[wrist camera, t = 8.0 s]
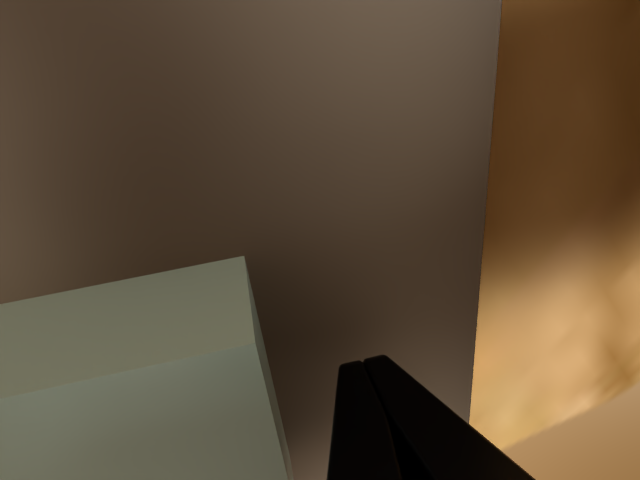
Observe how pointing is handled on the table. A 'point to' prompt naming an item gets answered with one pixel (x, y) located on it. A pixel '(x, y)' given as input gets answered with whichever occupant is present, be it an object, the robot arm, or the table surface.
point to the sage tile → (141, 382)
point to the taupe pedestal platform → (262, 172)
